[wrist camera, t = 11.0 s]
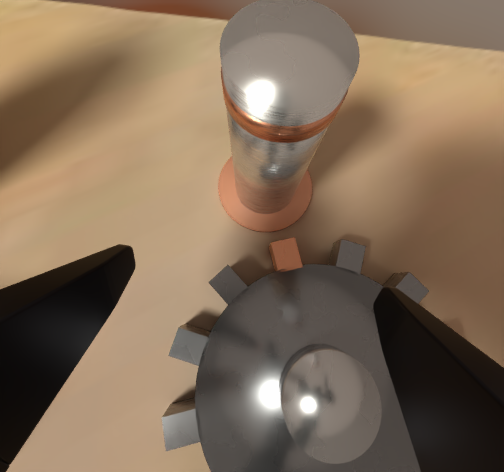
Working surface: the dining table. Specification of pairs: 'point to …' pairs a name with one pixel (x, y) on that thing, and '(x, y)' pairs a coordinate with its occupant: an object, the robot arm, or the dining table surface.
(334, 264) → the sprocket
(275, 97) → the pin
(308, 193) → the seat pad
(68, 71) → the dining table surface
